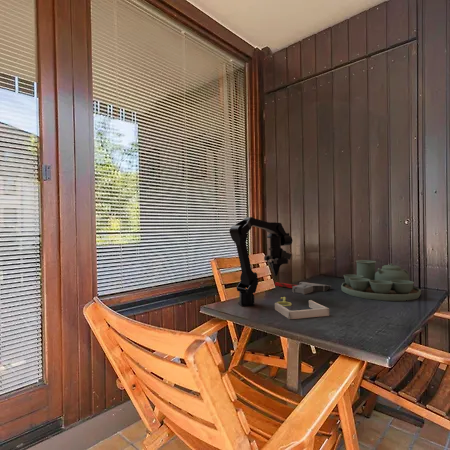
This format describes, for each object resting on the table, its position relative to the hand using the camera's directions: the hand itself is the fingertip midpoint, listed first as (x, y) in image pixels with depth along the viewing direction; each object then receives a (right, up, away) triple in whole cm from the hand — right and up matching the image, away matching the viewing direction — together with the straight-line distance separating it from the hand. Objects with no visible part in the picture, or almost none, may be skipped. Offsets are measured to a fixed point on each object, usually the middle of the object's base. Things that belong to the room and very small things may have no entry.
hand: (275, 275), depth 162 cm
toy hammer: (+18, -12, +24) cm, 32 cm away
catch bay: (+7, -12, -26) cm, 30 cm away
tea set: (+60, -12, +10) cm, 62 cm away
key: (+2, -13, -10) cm, 16 cm away
